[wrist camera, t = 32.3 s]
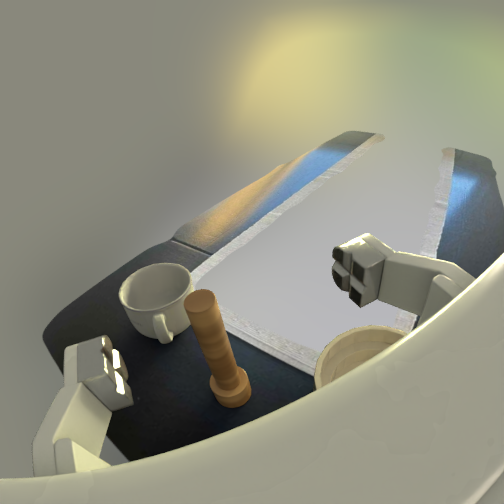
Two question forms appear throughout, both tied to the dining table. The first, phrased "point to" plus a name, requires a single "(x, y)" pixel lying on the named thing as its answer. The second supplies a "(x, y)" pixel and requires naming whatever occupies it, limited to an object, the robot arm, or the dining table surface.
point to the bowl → (352, 351)
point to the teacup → (157, 300)
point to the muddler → (217, 349)
